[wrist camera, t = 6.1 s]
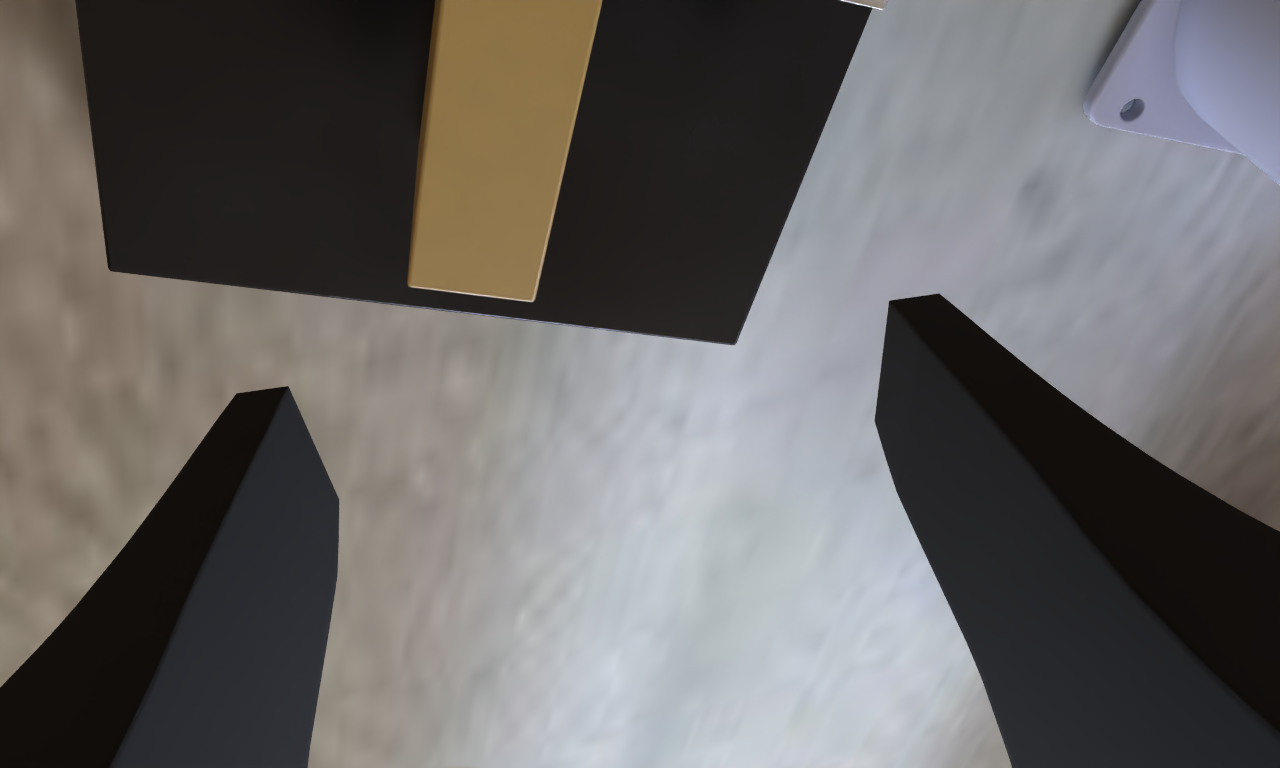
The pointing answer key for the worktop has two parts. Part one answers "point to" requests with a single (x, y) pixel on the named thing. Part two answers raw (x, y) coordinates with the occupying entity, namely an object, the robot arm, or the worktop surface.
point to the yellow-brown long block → (496, 141)
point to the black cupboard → (389, 140)
